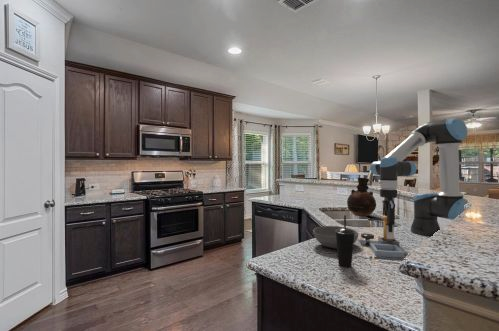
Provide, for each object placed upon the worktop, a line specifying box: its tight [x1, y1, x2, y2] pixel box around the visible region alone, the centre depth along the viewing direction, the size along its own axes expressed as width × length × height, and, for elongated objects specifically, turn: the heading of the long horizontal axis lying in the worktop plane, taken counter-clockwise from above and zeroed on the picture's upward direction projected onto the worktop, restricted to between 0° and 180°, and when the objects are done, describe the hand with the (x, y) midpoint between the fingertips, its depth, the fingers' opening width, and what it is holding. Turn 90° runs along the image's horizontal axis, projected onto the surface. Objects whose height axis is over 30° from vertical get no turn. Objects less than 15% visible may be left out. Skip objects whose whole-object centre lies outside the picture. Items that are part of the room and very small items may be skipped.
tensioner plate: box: [357, 232, 404, 250], centre depth 136 cm, size 18×12×6 cm, turn 77°
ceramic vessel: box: [346, 177, 377, 217], centre depth 218 cm, size 21×18×30 cm
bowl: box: [312, 225, 359, 250], centre depth 137 cm, size 21×21×8 cm
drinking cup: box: [335, 215, 356, 268], centre depth 112 cm, size 8×8×20 cm
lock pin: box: [381, 214, 395, 241], centre depth 135 cm, size 6×6×14 cm
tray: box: [369, 243, 405, 262], centre depth 123 cm, size 11×11×4 cm
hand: (388, 237), depth 135 cm, fingers closed on lock pin, 4 cm apart
